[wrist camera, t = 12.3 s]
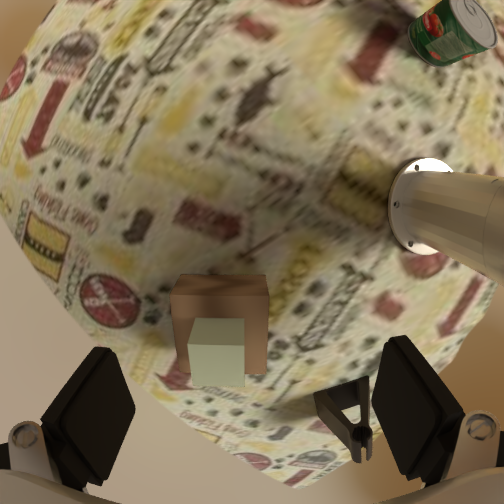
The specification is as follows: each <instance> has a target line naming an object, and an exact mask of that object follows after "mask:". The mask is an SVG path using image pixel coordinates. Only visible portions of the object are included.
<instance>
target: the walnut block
mask: <svg viewBox="0 0 504 504" xmlns="http://www.w3.org/2000/svg"><path fill="white" fill-rule="evenodd" d="M169 296H170V305H171V314H172V322H173V330H174V337H175V345H176V351H177V358H178V364H179V371H180V372H186V373H191V369H190V361H189V354H188V345H187V344H188V340H189V337H190V334H191V331H192V328H193V324H194V321H195V318H244V374H266V365H267V342H268V316H269V292H268V287H267V282H266V276H265V275H181V276H180V277H179V279H178V281H177V283H176V284H175V286H174V288H173V289H172V291H171V293H170V295H169Z"/></svg>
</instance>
